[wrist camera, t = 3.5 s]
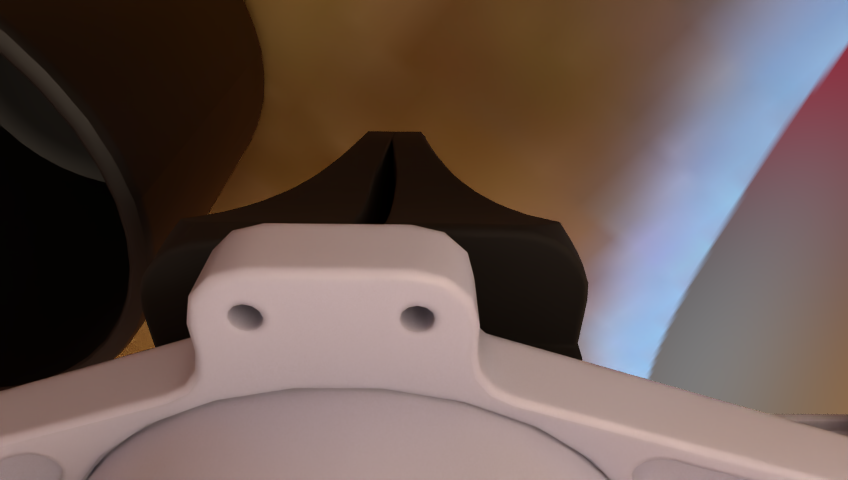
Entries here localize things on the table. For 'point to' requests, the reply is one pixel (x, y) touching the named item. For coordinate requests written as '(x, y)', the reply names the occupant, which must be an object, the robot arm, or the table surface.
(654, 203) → the table surface
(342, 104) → the table surface
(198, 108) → the mug
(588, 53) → the table surface
